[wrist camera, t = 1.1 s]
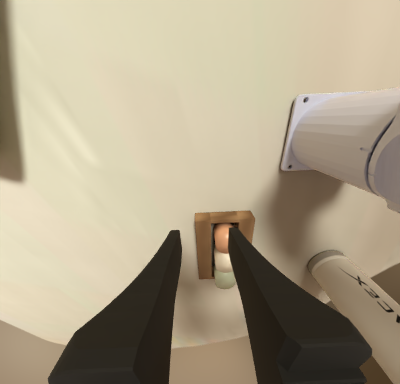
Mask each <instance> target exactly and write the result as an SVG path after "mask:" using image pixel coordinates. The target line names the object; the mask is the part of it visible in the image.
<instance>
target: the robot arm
mask: <svg viewBox="0 0 400 384" xmlns="http://www.w3.org/2000/svg"><path fill="white" fill-rule="evenodd" d="M304 98H306V101H305V103H304V102H303V100H304ZM289 165H291V166H290V168H288V166H289ZM281 169H282V170H283V171H297V170H317V171H319V172H322V173H324V174H327V175H329V176H331V177H334V178H336V179H339V180H341V181H343V182H346V183H348V184H351V185H353V186H355V187H358V188H360V189H363V190H365V191H367V192H370V193H372V194H375V195H377V196H380V197H382V198H383V199H385V200H386V202H387V207H388V208H389V209H391V210H393V211H396V212H398V213H400V87H395V88H389V89H383V90H377V91H363V92H342V93H321V94H302V95H298V96H297V97H296V98H295V100H294V104H293V109H292V114H291V118H290V123H289V128H288V133H287V138H286V143H285V148H284V153H283V158H282V163H281ZM228 252H229V257H230V262H231V265H232V269H233V272H234V275H235V279H236V282H237V285H238V289H239V292H240V296H241V300H242V304H243V309H244V314H245V318H246V323H247V328H248V333H249V338H250V344H251V349H252V354H253V360H254V365H255V371H256V376H257V382H258V384H364V383H366V382H367V380H366V378H365V376H364V375H363V373H362V372H361V370H360V369H359V367H360V366H361V365H362V364H363V363H364V362H365V361H366V360H368V359H369V358H370V357H371V355H372V348H371V347H370V345H369V344H368V343H367V341H366V340H365V339H364V337H363V336H362V335H361V333H360V332H359V331H358V329H357V328H356V327H355V326H354V324H353V323H352V322H351V321H350V320H349V319H348V318H347V317H345V316H344V315H342V314H340V313H339V312H337V311H336V310H334V309H332V308H330V307H329V306H327V305H326V304H324V303H323V302H321V301H319V300H318V299H316V298H315V297H313V296H312V295H311V294H309V293H308V292H306V291H305V290H303V289H302V288H300V287H299V286H298V285H296V284H295V283H294V282H292V281H291V280H290V279H288V278H287V277H286V276H285V275H283V274H282V273H281V272H280V271H279V270H277V269H276V268H275V267H274V266H273V265H272V264H271V263H270V262H268V261H267V260H266V259H265V258H264V257H263V256H262V255H261V254H260V253H259V252H258V251H257V250H256V249H255V247H254V246H253V245H252V244H251V243H250V242H249V241H248V240H247V238H246V237H245V236H244V235H243V234H242V232H241V231H240V230H239V229H238V228H237V227H231V228H229V235H228ZM181 258H182V246H181V238H180V231H179V230H171V231H170V232H169V234H168V236H167V238H166V239H165V241H164V242H163V244H162V245H161V247H160V248H159V250H158V251H157V253H156V254H155V255H154V257H153V258H152V259H151V261H150V262H149V263H148V265H147V266H146V267H145V268H144V269H143V271H142V272H141V273H140V274H139V275H138V276H137V277H136V278H135V279H134V281H133V282H132V283H131V284H130V285H129V286H128V287H127V288H126V289H125V290H124V291H123V292H122V293H121V294H120V295H118V296H117V297H116V298H115V299H114V300H113V301H112V302H111V303H110V304H109V305H108V306H106V307H105V308H104V309H103V310H102V311H101V312H100V313H98V314H97V315H96V316H95V317H93V318H92V319H91V320H90V321H88V322H87V323H86V324H85V325H84V326H82V327H81V328H80V329H78V330H77V331H76V332H75V333H74V335H73V337H72V338H71V340H70V341H69V343H68V344H67V346H66V348H65V349H64V351H63V353H62V355H61V357H60V358H59V360H58V362H57V364H56V365H55V367H54V369H53V370H52V372H51V374H50V376H49V377H48V382H49V384H169V370H170V354H171V341H172V328H173V316H174V305H175V297H176V291H177V285H178V279H179V273H180V267H181Z"/></svg>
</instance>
